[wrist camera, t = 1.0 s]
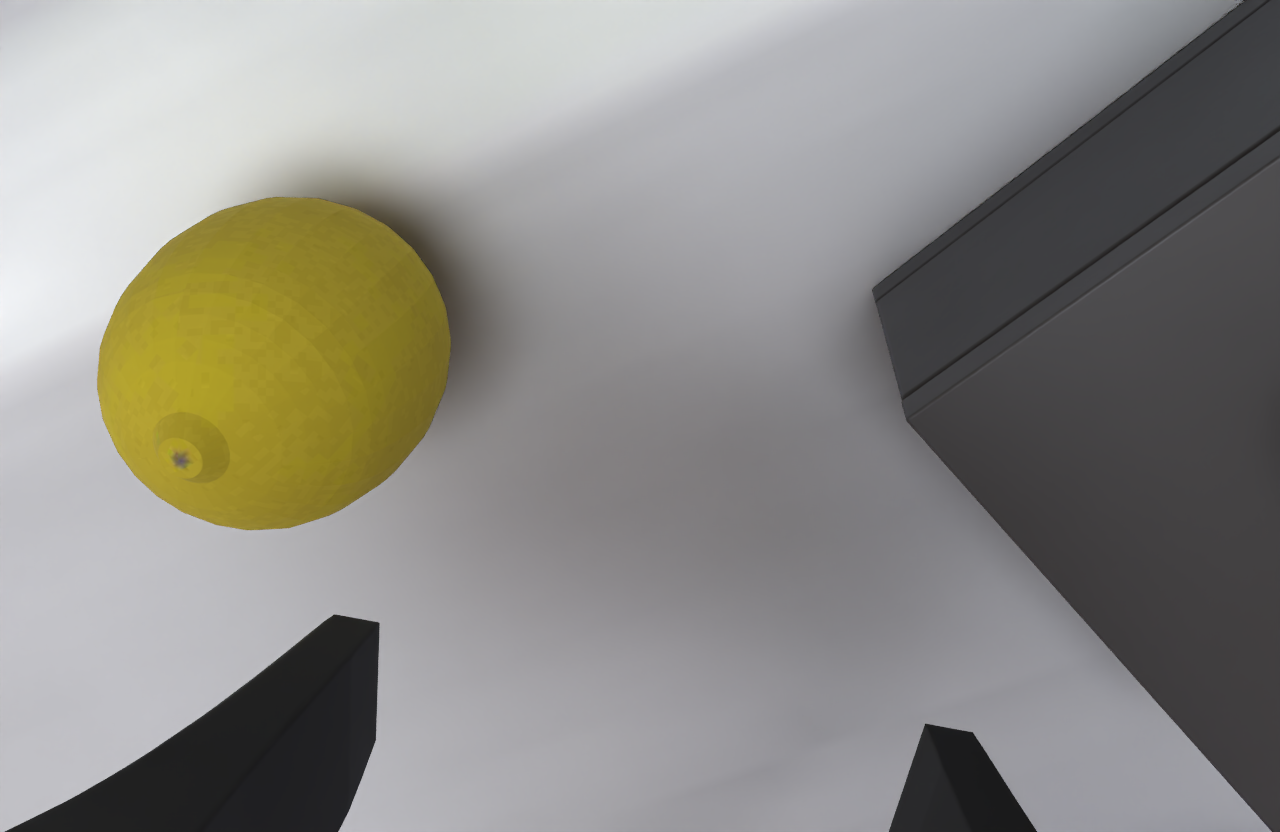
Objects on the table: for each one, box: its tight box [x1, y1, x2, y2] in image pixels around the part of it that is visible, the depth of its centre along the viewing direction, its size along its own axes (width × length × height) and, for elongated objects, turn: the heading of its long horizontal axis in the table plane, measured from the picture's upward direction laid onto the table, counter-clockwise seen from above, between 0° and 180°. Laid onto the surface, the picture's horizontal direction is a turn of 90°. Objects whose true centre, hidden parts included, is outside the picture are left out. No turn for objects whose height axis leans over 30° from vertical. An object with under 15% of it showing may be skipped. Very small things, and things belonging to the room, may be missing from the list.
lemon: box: [97, 197, 451, 530], centre depth 19 cm, size 6×6×8 cm
